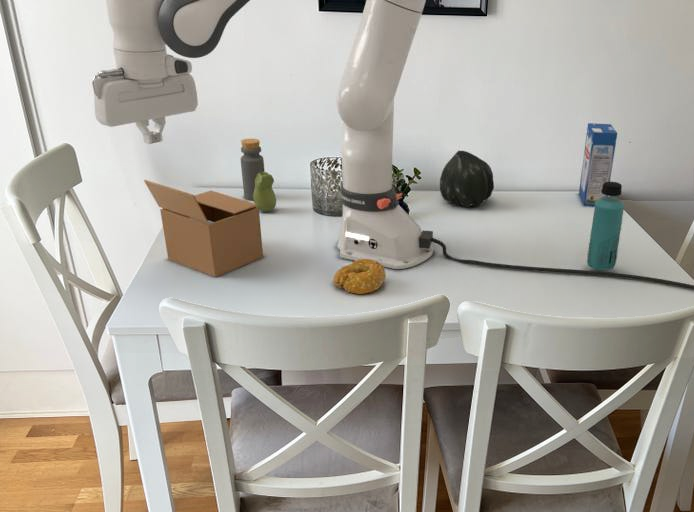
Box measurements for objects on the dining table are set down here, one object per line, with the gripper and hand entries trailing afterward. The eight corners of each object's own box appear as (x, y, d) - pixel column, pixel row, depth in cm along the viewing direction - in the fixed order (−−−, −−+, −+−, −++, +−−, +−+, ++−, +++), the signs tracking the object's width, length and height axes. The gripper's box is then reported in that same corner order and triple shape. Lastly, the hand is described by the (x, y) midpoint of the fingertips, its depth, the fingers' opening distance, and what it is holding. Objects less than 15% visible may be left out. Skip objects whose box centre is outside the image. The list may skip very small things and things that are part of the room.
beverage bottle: (608, 279, 163) (622, 190, 153) (580, 272, 166) (592, 183, 156) (618, 269, 168) (633, 182, 158) (591, 262, 171) (604, 176, 160)
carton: (263, 256, 166) (258, 204, 160) (215, 277, 156) (207, 222, 150) (217, 241, 173) (210, 190, 167) (168, 259, 163) (159, 206, 157)
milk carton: (606, 207, 205) (617, 133, 194) (583, 206, 205) (593, 132, 194) (600, 195, 213) (610, 124, 203) (578, 194, 213) (587, 123, 203)
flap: (193, 194, 145) (192, 195, 145) (208, 221, 150) (207, 222, 150) (144, 179, 152) (143, 180, 151) (160, 206, 157) (159, 206, 156)
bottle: (261, 201, 197) (256, 144, 190) (240, 199, 198) (234, 142, 191) (270, 194, 202) (265, 138, 195) (249, 192, 203) (244, 136, 196)
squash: (507, 178, 205) (474, 134, 201) (498, 197, 193) (462, 150, 188) (468, 207, 212) (435, 164, 208) (457, 226, 200) (421, 182, 195)
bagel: (336, 274, 160) (335, 253, 157) (388, 277, 160) (388, 256, 157) (329, 294, 151) (328, 272, 149) (383, 297, 151) (383, 275, 149)
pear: (267, 206, 195) (264, 168, 190) (281, 210, 192) (278, 172, 187) (250, 211, 191) (246, 172, 186) (265, 216, 188) (261, 177, 183)
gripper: (102, 74, 126) (116, 156, 133) (198, 62, 141) (206, 136, 148) (79, 69, 129) (94, 149, 136) (176, 57, 144) (185, 130, 151)
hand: (153, 142), depth 142 cm, fingers closed
